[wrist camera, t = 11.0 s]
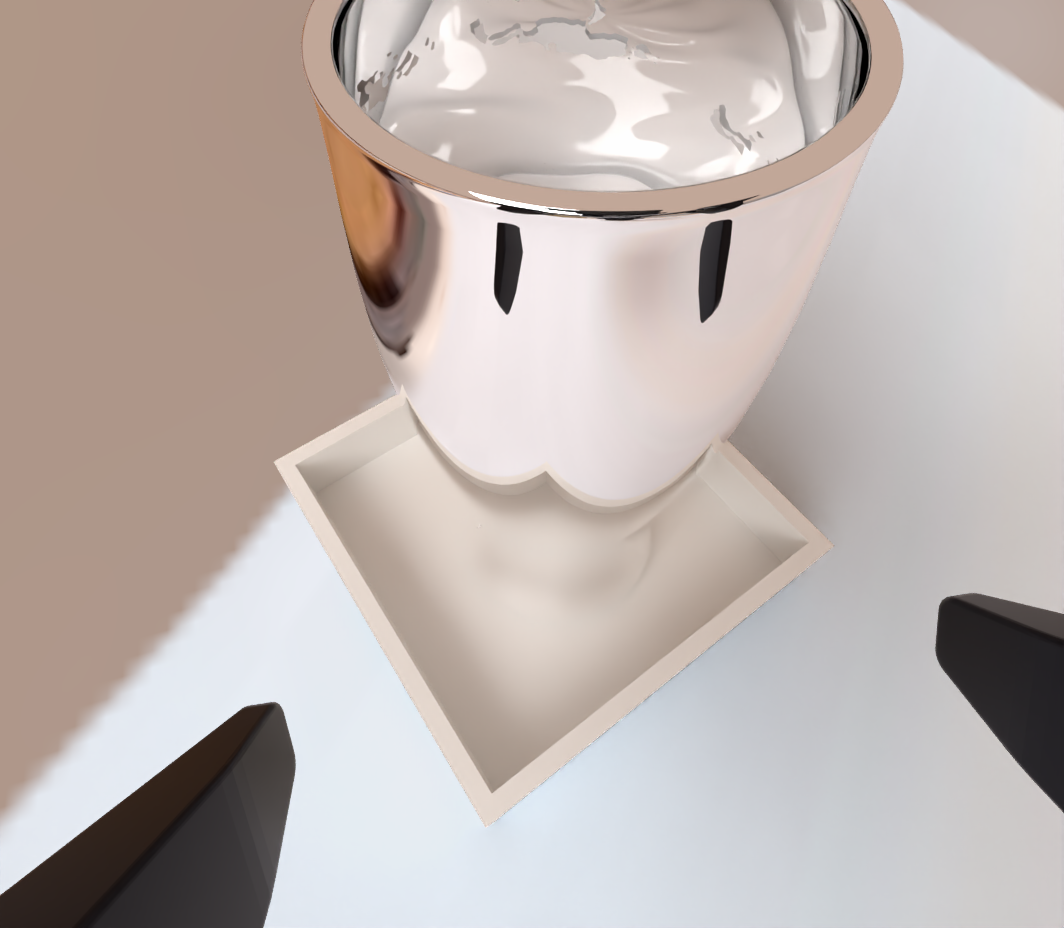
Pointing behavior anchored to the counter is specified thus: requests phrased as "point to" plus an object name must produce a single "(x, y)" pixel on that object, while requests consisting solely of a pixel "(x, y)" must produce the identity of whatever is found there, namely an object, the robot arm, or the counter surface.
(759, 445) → the counter surface
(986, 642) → the robot arm
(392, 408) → the tray
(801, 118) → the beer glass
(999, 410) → the counter surface
